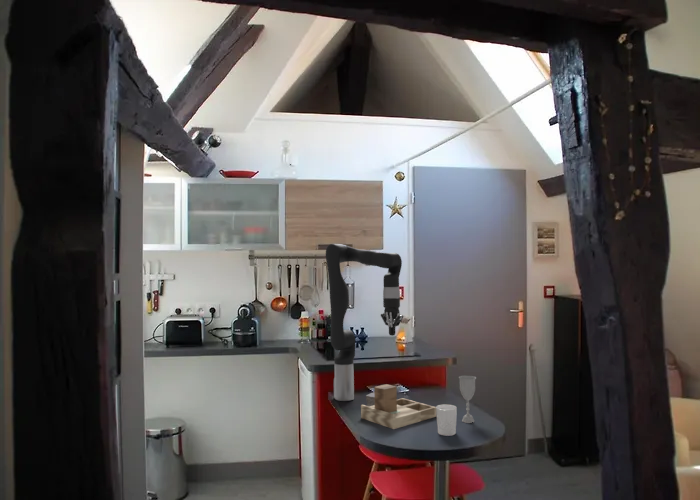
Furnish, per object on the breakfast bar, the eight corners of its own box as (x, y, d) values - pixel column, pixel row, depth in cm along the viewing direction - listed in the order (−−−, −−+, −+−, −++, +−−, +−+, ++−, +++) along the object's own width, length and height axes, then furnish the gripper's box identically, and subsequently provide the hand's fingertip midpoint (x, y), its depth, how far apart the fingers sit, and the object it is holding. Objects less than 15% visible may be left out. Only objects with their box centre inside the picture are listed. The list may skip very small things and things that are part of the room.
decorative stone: (365, 413, 233) (387, 413, 232) (364, 397, 233) (387, 397, 232) (369, 404, 248) (390, 404, 246) (368, 389, 248) (389, 389, 246)
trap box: (361, 417, 225) (360, 405, 225) (402, 406, 241) (402, 394, 241) (393, 429, 210) (393, 415, 210) (436, 416, 226) (435, 403, 226)
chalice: (477, 419, 221) (477, 376, 221) (476, 424, 214) (475, 379, 215) (460, 418, 223) (459, 375, 223) (458, 422, 217) (457, 378, 217)
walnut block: (374, 410, 221) (374, 386, 221) (387, 407, 225) (386, 384, 225) (384, 414, 216) (384, 389, 216) (396, 410, 221) (396, 386, 221)
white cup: (434, 430, 208) (433, 404, 208) (453, 429, 208) (453, 403, 209) (439, 437, 200) (438, 410, 200) (459, 436, 201) (459, 409, 201)
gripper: (375, 296, 242) (376, 334, 242) (395, 298, 232) (396, 337, 232) (387, 295, 247) (388, 333, 247) (407, 297, 237) (408, 335, 237)
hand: (392, 335), depth 239 cm, fingers closed
